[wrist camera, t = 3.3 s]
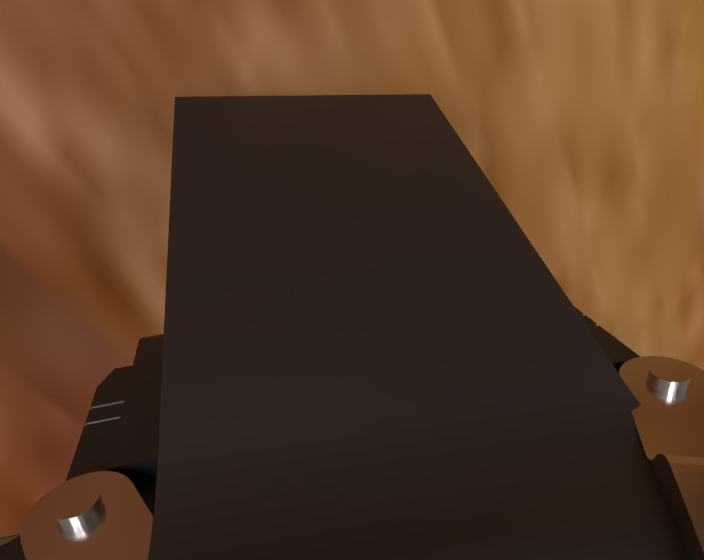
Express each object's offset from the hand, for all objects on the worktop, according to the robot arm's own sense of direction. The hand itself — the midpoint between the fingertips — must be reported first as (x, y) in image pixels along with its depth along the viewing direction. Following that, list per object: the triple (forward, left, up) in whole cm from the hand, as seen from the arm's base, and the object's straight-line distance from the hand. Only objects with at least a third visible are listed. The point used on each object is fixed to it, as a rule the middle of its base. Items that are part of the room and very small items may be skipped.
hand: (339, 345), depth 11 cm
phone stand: (0, 0, -4) cm, 4 cm away
